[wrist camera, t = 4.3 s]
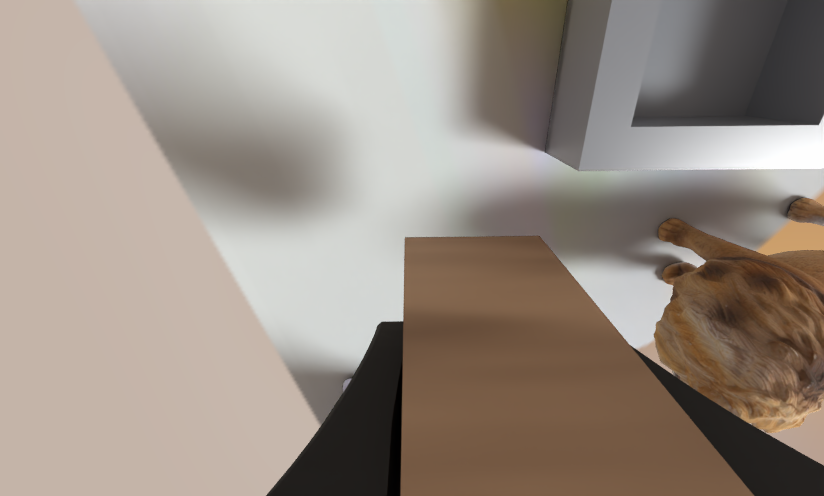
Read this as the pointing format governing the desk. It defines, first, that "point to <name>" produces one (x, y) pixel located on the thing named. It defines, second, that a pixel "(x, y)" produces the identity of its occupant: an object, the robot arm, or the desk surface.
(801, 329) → the lion figurine
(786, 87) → the square well
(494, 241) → the walnut block
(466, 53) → the desk surface
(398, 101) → the desk surface
